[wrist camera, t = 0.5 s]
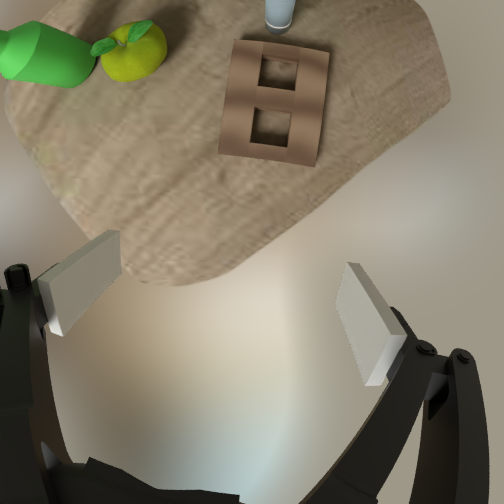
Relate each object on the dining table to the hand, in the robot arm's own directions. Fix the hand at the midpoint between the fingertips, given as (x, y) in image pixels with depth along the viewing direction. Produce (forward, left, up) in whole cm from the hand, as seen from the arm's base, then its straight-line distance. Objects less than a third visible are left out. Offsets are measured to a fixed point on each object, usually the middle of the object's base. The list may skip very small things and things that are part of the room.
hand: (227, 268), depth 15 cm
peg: (-27, +1, -26) cm, 37 cm away
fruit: (-20, -18, -26) cm, 38 cm away
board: (-14, +2, -26) cm, 30 cm away
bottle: (-21, -32, -26) cm, 47 cm away
